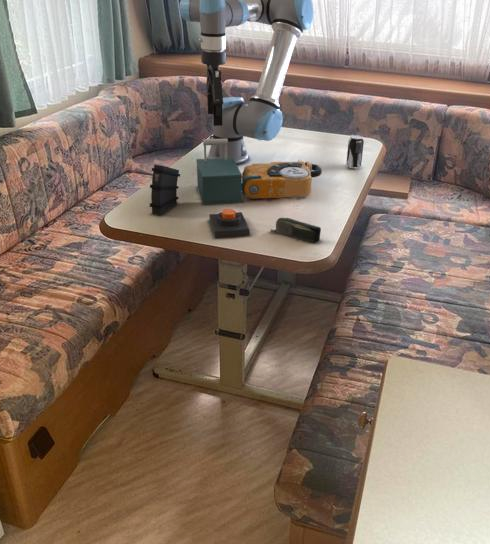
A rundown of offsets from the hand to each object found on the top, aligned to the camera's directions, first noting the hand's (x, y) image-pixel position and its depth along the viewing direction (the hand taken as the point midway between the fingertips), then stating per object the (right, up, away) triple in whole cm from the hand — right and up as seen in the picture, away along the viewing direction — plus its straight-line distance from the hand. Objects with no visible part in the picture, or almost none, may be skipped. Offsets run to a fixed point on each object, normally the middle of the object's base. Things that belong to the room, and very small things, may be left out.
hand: (214, 119), depth 187 cm
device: (+22, -20, +14) cm, 33 cm away
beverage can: (+49, -9, +35) cm, 61 cm away
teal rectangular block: (+1, -23, +7) cm, 24 cm away
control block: (+6, -36, -15) cm, 40 cm away
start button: (+6, -33, -17) cm, 38 cm away
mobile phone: (+26, -39, -18) cm, 50 cm away
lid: (+1, -16, +3) cm, 16 cm away
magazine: (-15, -29, -4) cm, 33 cm away
